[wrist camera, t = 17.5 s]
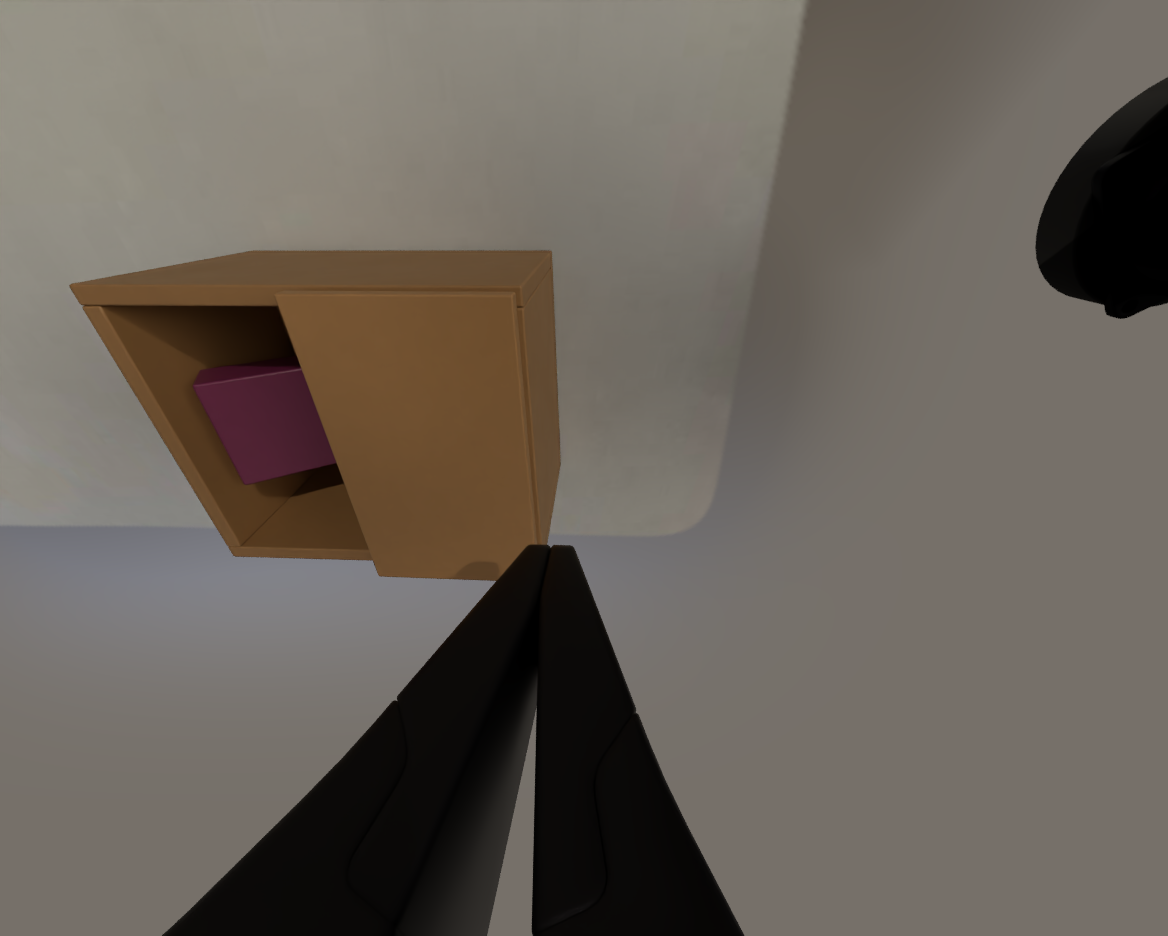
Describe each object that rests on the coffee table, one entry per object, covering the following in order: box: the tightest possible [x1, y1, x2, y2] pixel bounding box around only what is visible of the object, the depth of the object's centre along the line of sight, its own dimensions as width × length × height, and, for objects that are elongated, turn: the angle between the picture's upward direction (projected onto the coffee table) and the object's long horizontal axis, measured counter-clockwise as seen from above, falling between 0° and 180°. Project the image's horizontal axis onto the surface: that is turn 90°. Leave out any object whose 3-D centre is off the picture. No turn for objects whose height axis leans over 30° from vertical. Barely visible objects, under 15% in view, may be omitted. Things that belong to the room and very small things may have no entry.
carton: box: [69, 251, 561, 560], centre depth 15 cm, size 11×9×6 cm
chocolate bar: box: [193, 356, 336, 485], centre depth 15 cm, size 4×8×2 cm
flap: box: [274, 291, 537, 581], centre depth 12 cm, size 5×9×1 cm, turn 0°
